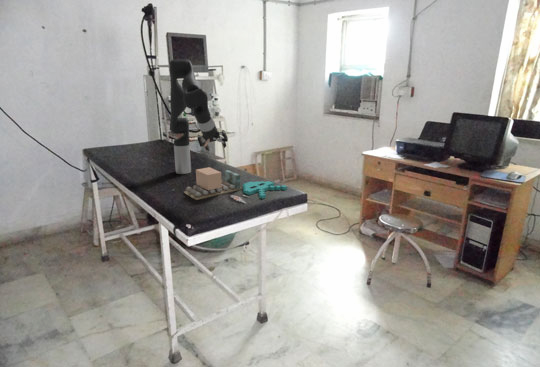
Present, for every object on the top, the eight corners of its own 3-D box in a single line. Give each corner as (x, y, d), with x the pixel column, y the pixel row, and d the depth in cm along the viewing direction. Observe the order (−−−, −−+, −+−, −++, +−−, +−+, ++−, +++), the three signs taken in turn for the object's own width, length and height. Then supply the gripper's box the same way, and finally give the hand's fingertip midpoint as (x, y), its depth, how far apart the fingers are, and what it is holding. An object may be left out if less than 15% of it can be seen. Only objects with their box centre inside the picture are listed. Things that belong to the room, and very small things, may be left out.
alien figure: (286, 189, 199) (258, 182, 211) (286, 186, 199) (258, 178, 211) (262, 199, 185) (234, 191, 197) (262, 195, 184) (234, 187, 196)
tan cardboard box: (196, 184, 194) (195, 169, 192) (209, 181, 199) (209, 167, 196) (208, 190, 185) (207, 175, 183) (221, 187, 190) (221, 172, 187)
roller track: (184, 193, 191) (183, 178, 189) (228, 183, 207) (228, 169, 205) (196, 200, 182) (195, 184, 179) (241, 189, 198) (241, 175, 195)
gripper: (221, 117, 178) (229, 140, 190) (192, 123, 179) (203, 145, 192) (221, 128, 173) (230, 151, 186) (192, 133, 174) (203, 156, 187)
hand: (216, 148), depth 189 cm, fingers open, 8 cm apart
